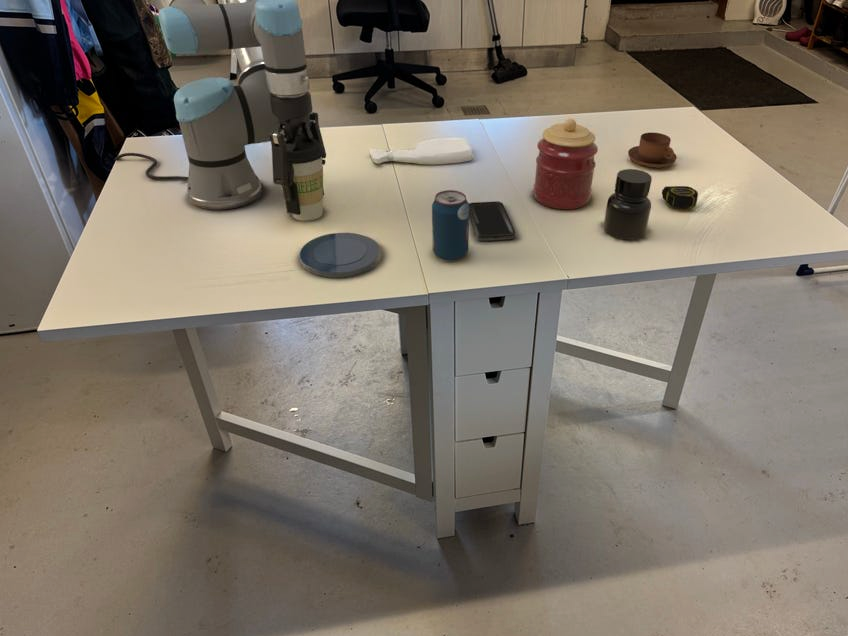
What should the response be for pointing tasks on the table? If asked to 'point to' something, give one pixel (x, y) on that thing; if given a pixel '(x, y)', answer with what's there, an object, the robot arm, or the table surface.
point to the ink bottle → (629, 205)
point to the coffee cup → (308, 178)
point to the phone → (490, 221)
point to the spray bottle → (429, 152)
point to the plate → (340, 255)
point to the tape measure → (680, 196)
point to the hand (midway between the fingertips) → (306, 203)
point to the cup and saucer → (653, 151)
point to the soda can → (450, 225)
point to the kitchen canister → (565, 166)
